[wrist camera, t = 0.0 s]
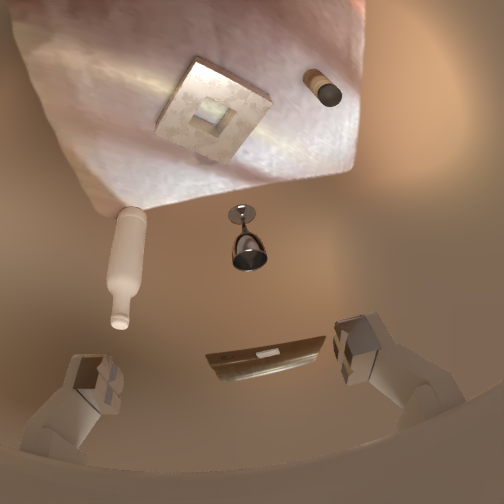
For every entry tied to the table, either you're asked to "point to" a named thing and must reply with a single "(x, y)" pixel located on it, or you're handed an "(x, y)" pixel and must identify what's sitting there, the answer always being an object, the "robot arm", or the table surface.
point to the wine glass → (246, 241)
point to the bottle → (126, 263)
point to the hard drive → (268, 353)
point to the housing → (200, 131)
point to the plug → (322, 88)
